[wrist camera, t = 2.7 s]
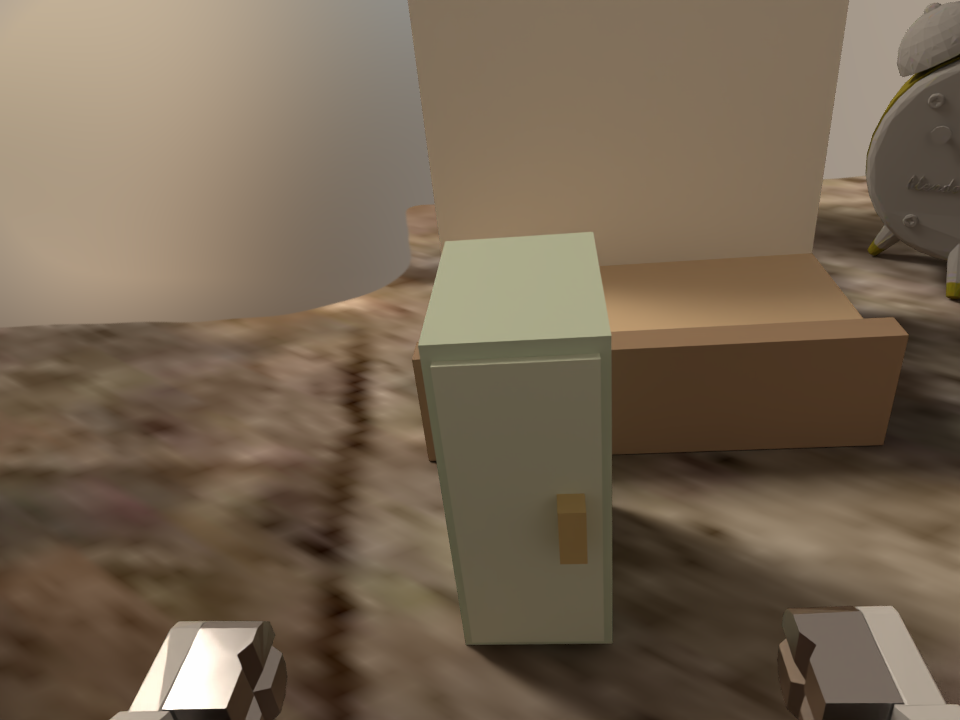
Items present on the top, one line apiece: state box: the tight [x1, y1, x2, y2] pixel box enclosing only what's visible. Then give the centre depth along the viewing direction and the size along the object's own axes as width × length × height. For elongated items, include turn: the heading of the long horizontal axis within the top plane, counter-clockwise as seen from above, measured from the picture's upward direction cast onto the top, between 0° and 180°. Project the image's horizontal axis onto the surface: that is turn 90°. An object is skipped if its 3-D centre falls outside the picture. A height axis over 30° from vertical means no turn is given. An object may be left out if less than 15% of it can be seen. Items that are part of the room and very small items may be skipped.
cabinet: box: [418, 232, 613, 645], centre depth 25 cm, size 5×8×12 cm, turn 176°
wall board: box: [408, 0, 909, 461], centre depth 33 cm, size 20×14×22 cm
